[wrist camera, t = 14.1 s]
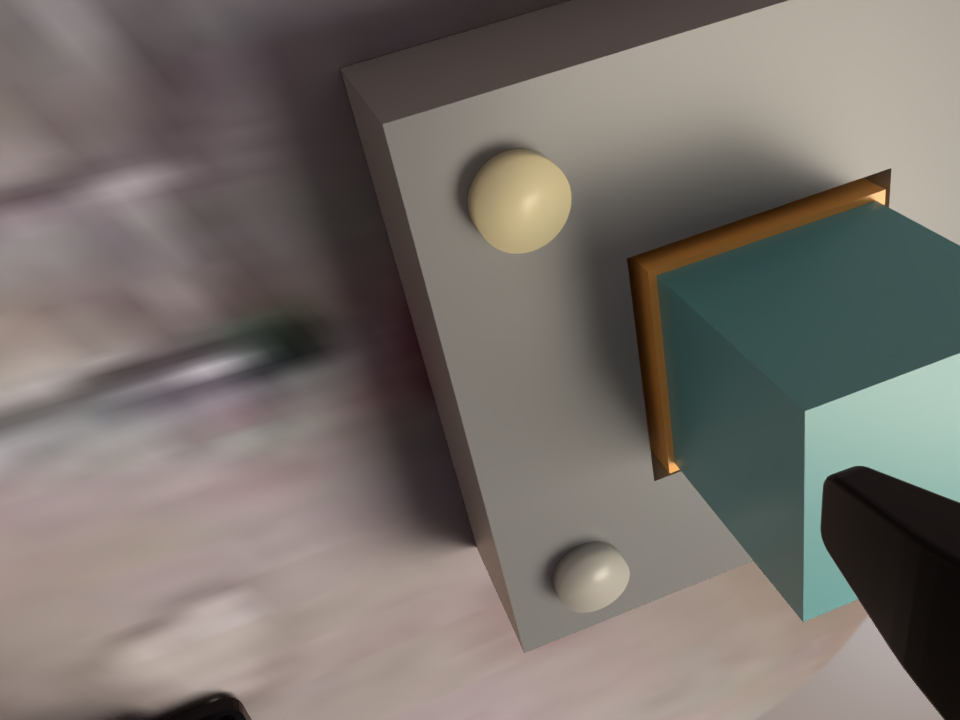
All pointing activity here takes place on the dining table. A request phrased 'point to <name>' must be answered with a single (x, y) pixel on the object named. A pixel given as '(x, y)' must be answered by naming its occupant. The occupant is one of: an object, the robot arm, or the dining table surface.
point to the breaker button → (697, 249)
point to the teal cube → (813, 380)
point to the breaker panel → (620, 242)
